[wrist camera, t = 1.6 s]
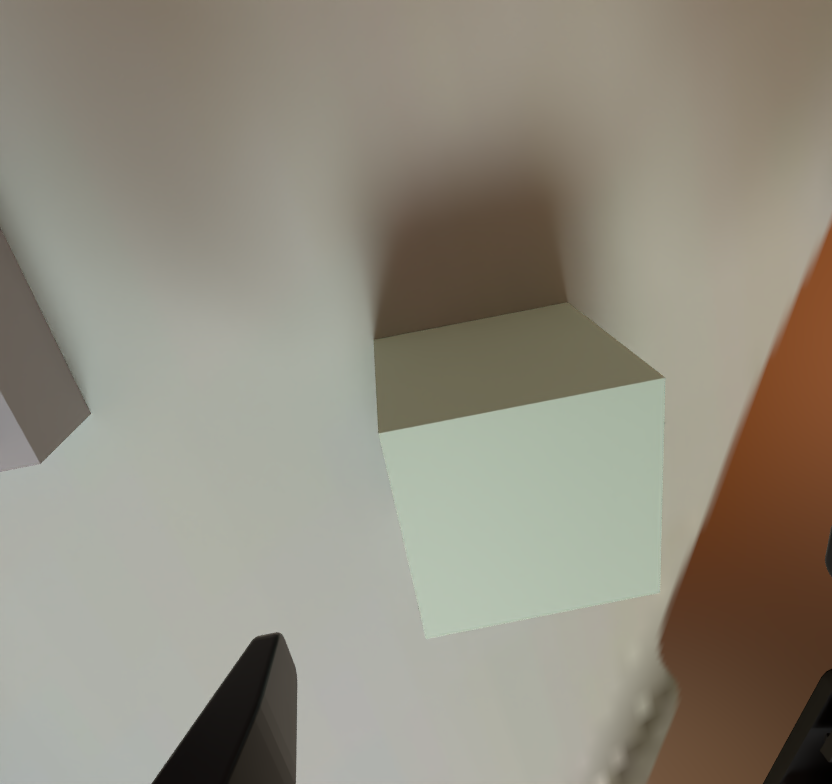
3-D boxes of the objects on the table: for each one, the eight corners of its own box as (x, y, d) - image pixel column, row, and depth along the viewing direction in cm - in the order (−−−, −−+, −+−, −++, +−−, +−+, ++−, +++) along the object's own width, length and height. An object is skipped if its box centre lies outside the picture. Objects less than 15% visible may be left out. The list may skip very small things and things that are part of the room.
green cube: (408, 498, 16) (426, 639, 11) (373, 338, 14) (378, 433, 9) (575, 465, 16) (660, 592, 11) (566, 301, 14) (665, 377, 9)
